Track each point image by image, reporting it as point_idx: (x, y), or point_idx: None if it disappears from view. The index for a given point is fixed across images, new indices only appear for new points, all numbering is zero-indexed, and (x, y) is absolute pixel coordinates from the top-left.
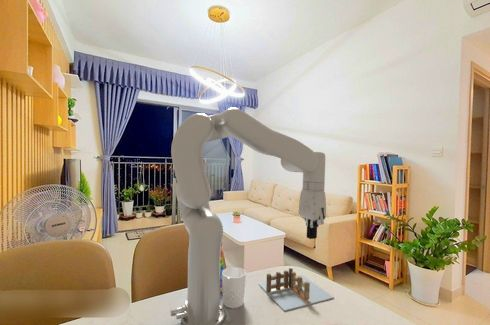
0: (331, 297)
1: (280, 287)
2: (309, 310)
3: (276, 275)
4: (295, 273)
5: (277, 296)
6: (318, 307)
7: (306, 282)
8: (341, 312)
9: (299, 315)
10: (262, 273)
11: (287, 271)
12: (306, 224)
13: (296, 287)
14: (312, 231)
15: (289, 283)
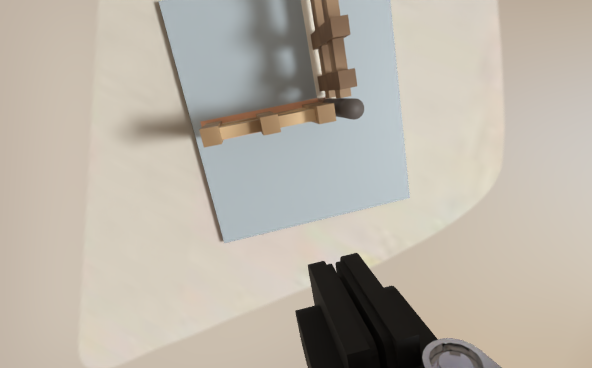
0: (224, 233)
1: None
2: (158, 112)
3: (335, 16)
4: (318, 121)
5: (264, 14)
6: (174, 157)
7: (210, 133)
8: (134, 224)
9: (129, 57)
10: (473, 26)
11: (343, 84)
12: (473, 358)
13: (280, 112)
14: (311, 350)
15: (328, 99)
